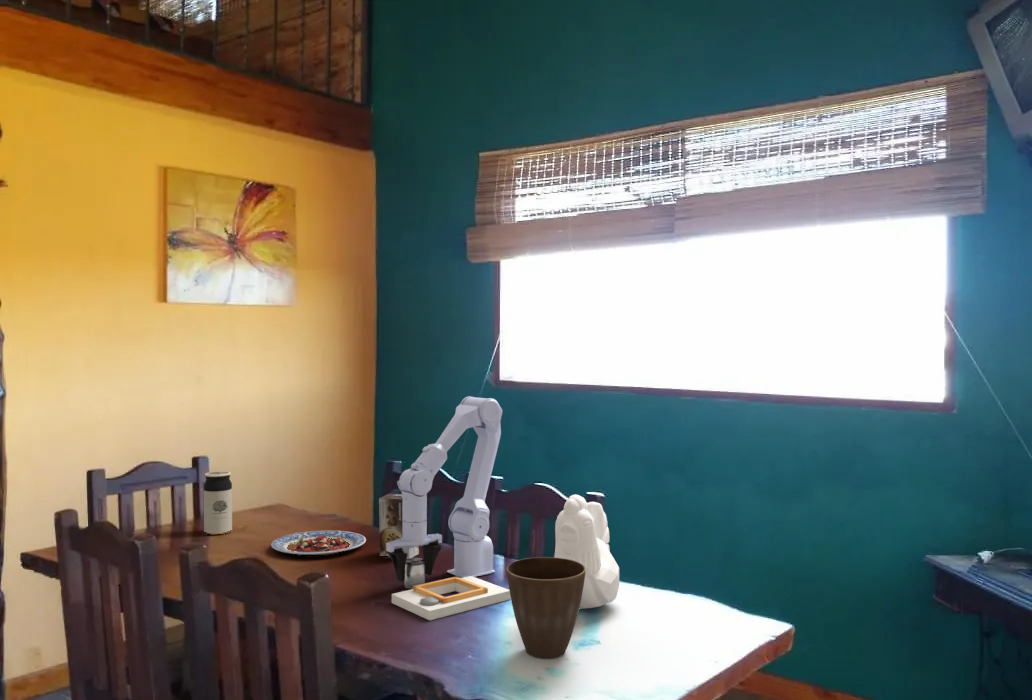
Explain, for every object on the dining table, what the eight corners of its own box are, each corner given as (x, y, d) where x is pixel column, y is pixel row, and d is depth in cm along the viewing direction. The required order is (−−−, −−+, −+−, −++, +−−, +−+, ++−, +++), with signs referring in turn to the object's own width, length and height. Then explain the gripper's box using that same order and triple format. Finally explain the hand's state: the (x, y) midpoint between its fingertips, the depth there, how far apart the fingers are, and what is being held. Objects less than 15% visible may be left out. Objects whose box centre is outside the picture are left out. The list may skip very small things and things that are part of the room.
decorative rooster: (592, 623, 174) (592, 504, 174) (529, 609, 184) (530, 495, 183) (648, 593, 194) (648, 486, 194) (589, 581, 204) (590, 479, 203)
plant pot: (595, 663, 153) (596, 576, 153) (515, 670, 150) (515, 581, 150) (573, 635, 168) (573, 555, 167) (499, 640, 165) (499, 559, 164)
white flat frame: (470, 584, 202) (470, 571, 202) (510, 599, 190) (510, 586, 190) (391, 602, 188) (391, 589, 188) (429, 620, 176) (429, 606, 176)
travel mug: (205, 530, 257) (205, 471, 256) (233, 529, 259) (232, 470, 258) (202, 536, 249) (202, 475, 249) (230, 535, 251) (230, 474, 250)
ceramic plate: (385, 545, 240) (385, 535, 240) (318, 566, 218) (318, 555, 218) (319, 533, 254) (319, 523, 254) (251, 552, 232) (251, 541, 232)
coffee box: (419, 553, 230) (419, 494, 229) (409, 559, 224) (409, 499, 223) (389, 551, 233) (389, 492, 232) (378, 556, 227) (378, 497, 226)
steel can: (417, 581, 204) (417, 556, 204) (428, 586, 200) (428, 560, 200) (400, 585, 201) (400, 560, 201) (411, 590, 197) (411, 564, 197)
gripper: (430, 513, 208) (430, 568, 208) (379, 521, 199) (379, 578, 199) (447, 518, 202) (446, 574, 203) (395, 526, 193) (395, 585, 193)
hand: (414, 577), depth 200 cm, fingers open, 7 cm apart
